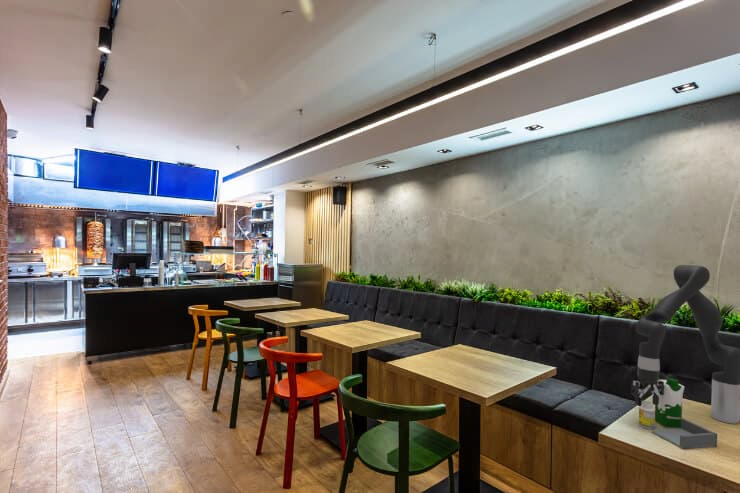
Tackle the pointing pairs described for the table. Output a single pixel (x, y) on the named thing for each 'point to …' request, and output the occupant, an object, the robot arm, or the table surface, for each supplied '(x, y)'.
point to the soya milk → (670, 404)
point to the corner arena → (688, 436)
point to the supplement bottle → (647, 415)
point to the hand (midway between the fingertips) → (646, 405)
